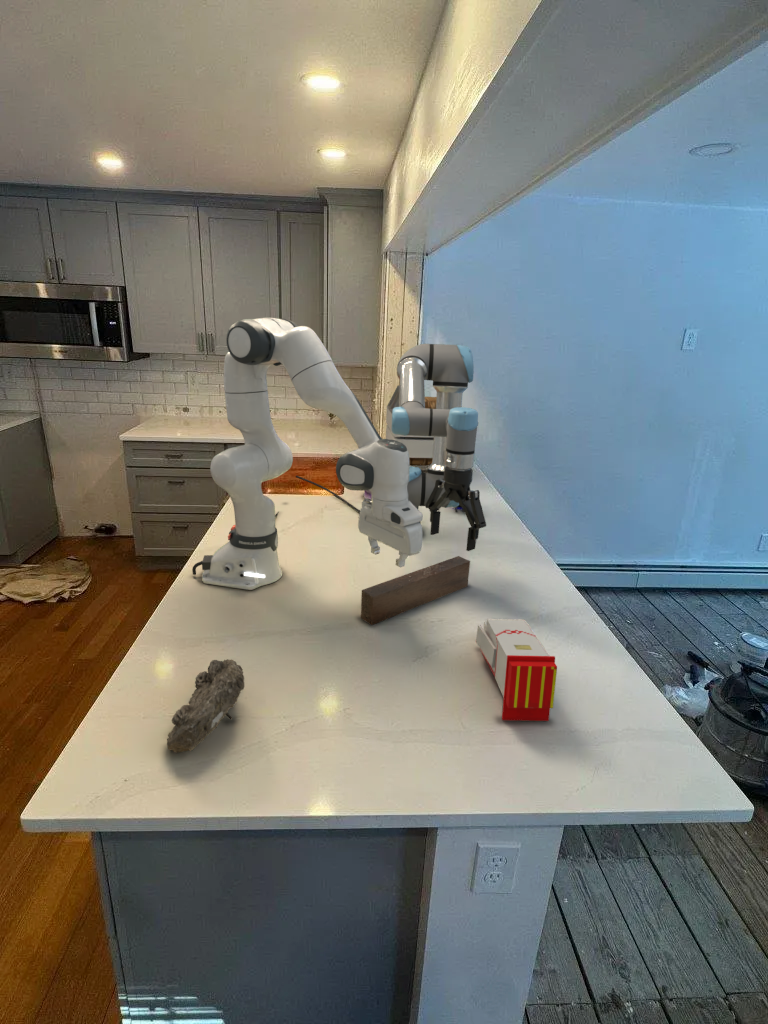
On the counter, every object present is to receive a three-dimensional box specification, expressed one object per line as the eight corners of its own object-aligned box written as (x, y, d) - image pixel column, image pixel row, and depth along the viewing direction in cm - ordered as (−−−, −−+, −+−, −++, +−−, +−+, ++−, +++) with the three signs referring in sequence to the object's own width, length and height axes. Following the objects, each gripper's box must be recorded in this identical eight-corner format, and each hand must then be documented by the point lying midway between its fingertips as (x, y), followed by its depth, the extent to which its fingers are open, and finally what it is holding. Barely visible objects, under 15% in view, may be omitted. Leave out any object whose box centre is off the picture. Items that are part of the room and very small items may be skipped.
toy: (523, 604, 135) (566, 662, 106) (518, 656, 138) (559, 727, 109) (472, 603, 135) (501, 661, 105) (468, 655, 138) (496, 726, 108)
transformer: (382, 463, 289) (386, 382, 275) (445, 464, 293) (451, 384, 279) (390, 482, 257) (394, 392, 243) (460, 483, 261) (468, 394, 247)
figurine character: (469, 517, 223) (463, 501, 236) (471, 500, 219) (465, 484, 233) (452, 516, 222) (447, 500, 236) (454, 499, 219) (449, 483, 232)
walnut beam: (360, 618, 145) (361, 590, 142) (456, 580, 167) (458, 555, 165) (371, 625, 142) (372, 597, 139) (467, 586, 164) (470, 561, 161)
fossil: (192, 660, 117) (244, 628, 112) (224, 691, 120) (276, 661, 115) (142, 746, 98) (202, 712, 93) (182, 779, 101) (242, 748, 96)
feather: (286, 506, 225) (288, 502, 225) (268, 529, 199) (271, 525, 198) (282, 503, 225) (284, 499, 225) (264, 526, 199) (267, 522, 198)
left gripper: (352, 498, 142) (352, 549, 147) (408, 521, 128) (405, 577, 133) (372, 494, 146) (370, 543, 151) (428, 516, 132) (424, 570, 136)
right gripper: (415, 459, 156) (411, 530, 163) (486, 481, 139) (477, 560, 146) (435, 455, 161) (429, 525, 168) (505, 476, 143) (496, 553, 151)
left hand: (387, 559), depth 142 cm, fingers open, 8 cm apart
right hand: (452, 541), depth 157 cm, fingers open, 13 cm apart
